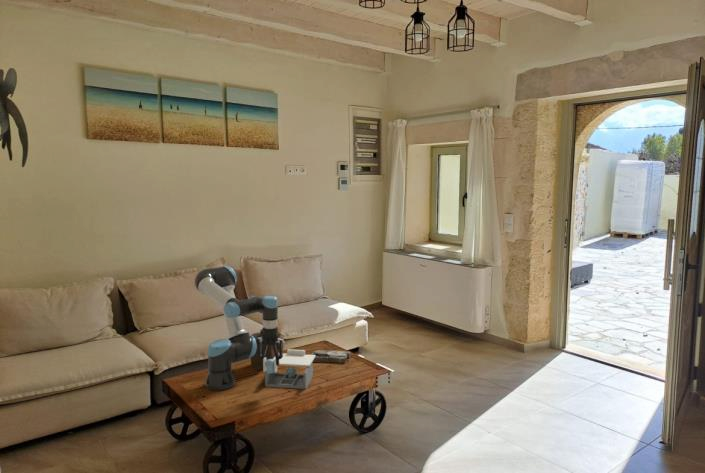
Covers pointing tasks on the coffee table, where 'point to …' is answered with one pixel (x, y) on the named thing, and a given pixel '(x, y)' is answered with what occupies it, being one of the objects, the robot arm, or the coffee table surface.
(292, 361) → the lid
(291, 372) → the jaw peg seated
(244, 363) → the coffee table surface
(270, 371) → the peg
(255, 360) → the wooden container
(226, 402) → the coffee table surface
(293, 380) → the housing
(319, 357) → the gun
